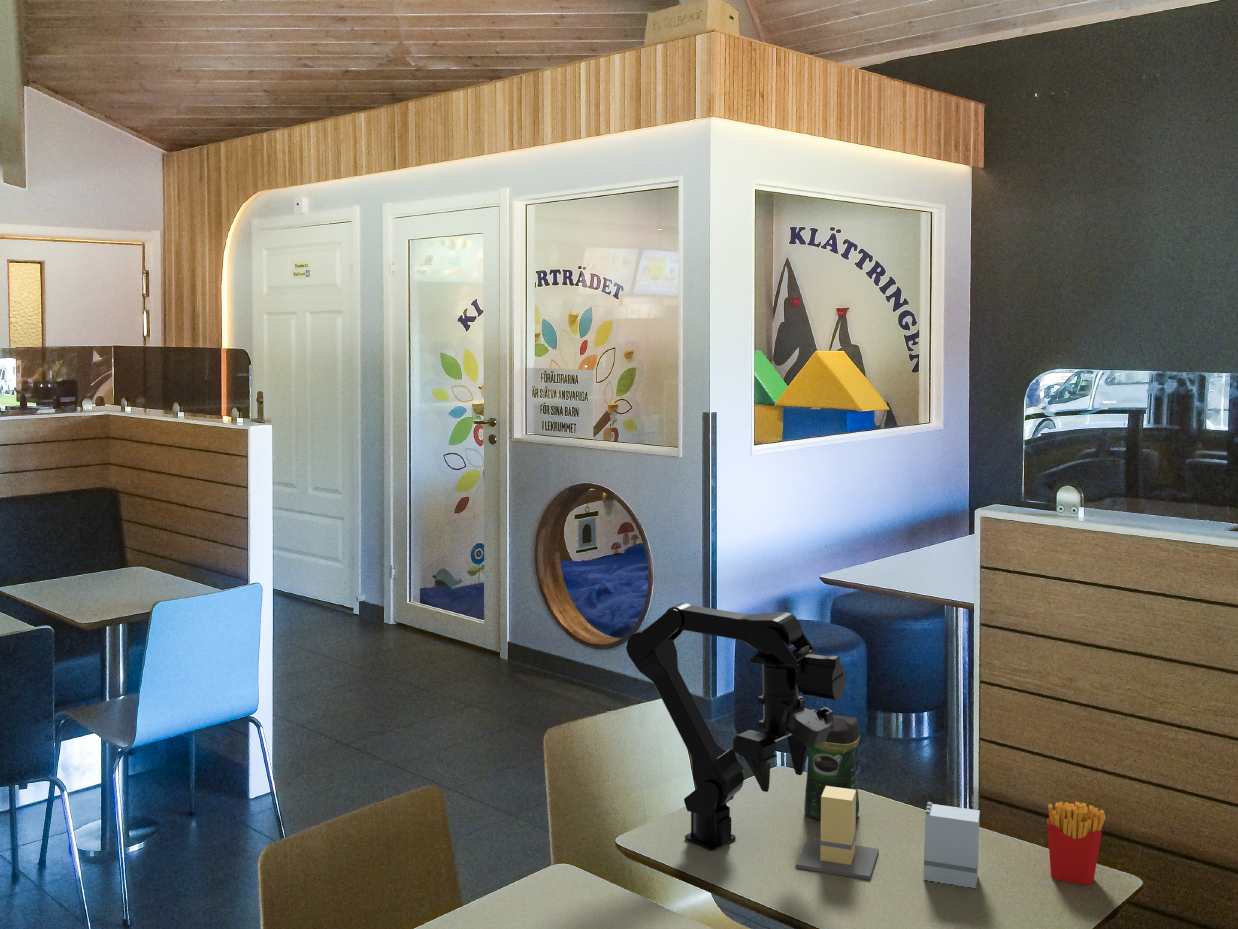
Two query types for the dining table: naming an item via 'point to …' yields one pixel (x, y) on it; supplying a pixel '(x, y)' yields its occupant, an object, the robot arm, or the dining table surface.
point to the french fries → (1074, 841)
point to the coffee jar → (832, 764)
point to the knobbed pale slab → (951, 845)
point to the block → (838, 825)
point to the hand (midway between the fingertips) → (782, 782)
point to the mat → (858, 868)
